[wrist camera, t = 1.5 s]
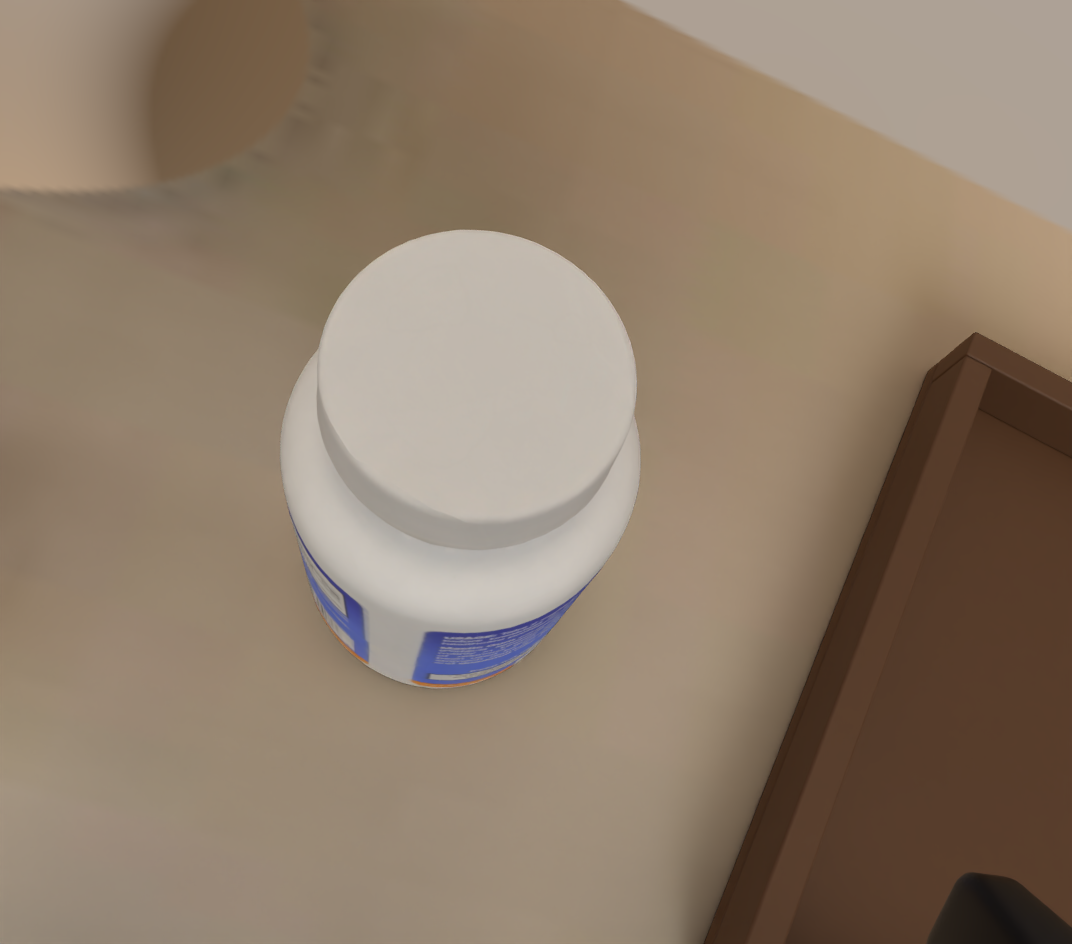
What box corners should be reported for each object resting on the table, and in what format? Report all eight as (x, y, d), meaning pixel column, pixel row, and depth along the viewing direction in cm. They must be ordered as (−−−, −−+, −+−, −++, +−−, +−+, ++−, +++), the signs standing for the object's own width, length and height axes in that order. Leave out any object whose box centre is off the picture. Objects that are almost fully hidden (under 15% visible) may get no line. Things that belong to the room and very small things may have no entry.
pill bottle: (594, 497, 22) (748, 264, 13) (516, 732, 20) (634, 645, 11) (365, 411, 22) (364, 116, 13) (263, 638, 20) (178, 476, 11)
